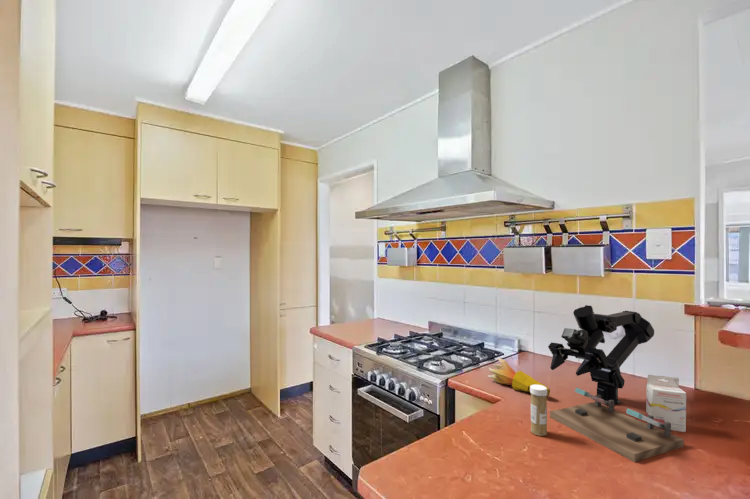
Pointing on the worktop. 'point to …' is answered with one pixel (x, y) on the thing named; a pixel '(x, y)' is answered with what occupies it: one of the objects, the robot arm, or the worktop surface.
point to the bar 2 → (645, 418)
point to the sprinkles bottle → (538, 410)
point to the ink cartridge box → (666, 401)
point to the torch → (513, 377)
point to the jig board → (618, 430)
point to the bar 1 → (591, 396)
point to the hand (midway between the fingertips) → (563, 371)
